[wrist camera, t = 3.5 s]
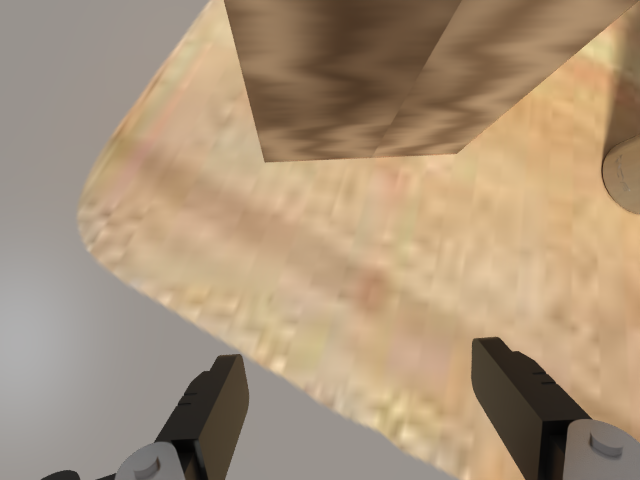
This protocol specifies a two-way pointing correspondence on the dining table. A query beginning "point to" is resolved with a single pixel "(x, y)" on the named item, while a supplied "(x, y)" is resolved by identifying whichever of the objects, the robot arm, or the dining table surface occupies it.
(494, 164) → the dining table surface
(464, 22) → the walnut stand
